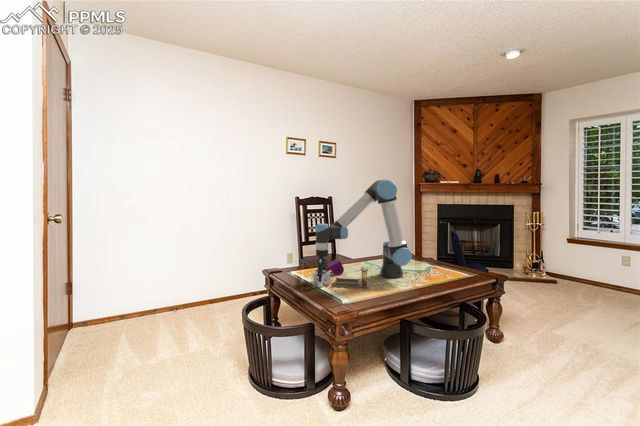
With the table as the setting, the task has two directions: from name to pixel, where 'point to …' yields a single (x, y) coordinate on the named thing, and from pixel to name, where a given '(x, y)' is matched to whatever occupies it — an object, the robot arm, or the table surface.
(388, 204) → the robot arm
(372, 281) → the table surface
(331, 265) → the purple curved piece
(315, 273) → the grey block with holes
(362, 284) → the hinge base
